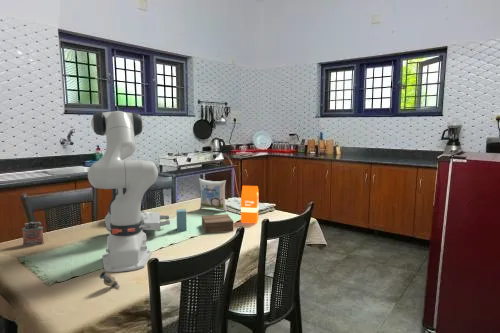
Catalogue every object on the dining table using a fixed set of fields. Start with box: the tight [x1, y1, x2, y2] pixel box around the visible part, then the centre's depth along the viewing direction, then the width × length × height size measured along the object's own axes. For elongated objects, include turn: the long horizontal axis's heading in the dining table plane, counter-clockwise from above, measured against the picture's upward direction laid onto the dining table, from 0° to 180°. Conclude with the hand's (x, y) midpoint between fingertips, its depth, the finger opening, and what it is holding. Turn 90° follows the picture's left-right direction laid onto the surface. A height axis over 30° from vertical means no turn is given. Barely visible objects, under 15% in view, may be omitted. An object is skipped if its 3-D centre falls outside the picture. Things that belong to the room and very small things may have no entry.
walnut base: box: [201, 213, 234, 234], centre depth 173 cm, size 14×14×5 cm
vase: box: [98, 271, 121, 290], centre depth 108 cm, size 5×5×6 cm
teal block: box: [176, 208, 188, 232], centre depth 170 cm, size 4×4×10 cm
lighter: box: [21, 221, 45, 247], centre depth 147 cm, size 8×3×10 cm, turn 105°
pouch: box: [198, 177, 228, 212], centre depth 208 cm, size 8×19×20 cm, turn 65°
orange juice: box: [240, 185, 260, 224], centre depth 185 cm, size 8×9×20 cm
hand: (169, 219), depth 168 cm, fingers open, 8 cm apart
